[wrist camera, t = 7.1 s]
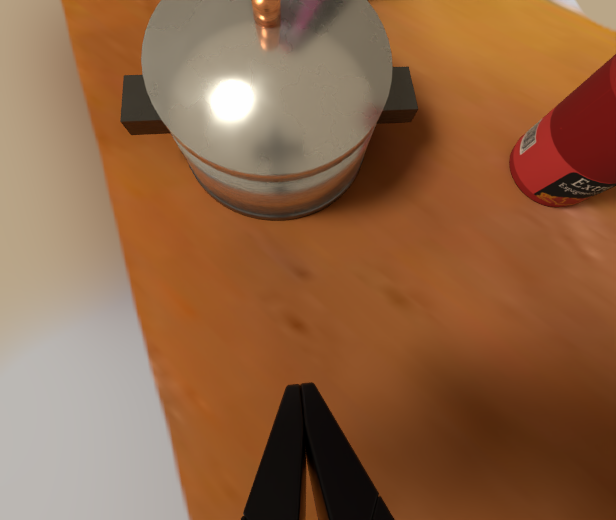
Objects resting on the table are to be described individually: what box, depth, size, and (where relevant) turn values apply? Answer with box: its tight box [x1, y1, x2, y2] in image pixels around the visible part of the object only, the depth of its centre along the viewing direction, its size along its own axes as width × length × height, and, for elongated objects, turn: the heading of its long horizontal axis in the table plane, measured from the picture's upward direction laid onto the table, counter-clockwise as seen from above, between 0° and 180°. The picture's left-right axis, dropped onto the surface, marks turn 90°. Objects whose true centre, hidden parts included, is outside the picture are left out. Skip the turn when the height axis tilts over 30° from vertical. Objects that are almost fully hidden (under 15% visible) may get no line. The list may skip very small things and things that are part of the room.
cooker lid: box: [141, 0, 392, 182], centre depth 19 cm, size 21×16×3 cm
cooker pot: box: [121, 67, 418, 221], centre depth 24 cm, size 16×22×6 cm
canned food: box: [509, 54, 616, 207], centre depth 22 cm, size 8×8×11 cm
